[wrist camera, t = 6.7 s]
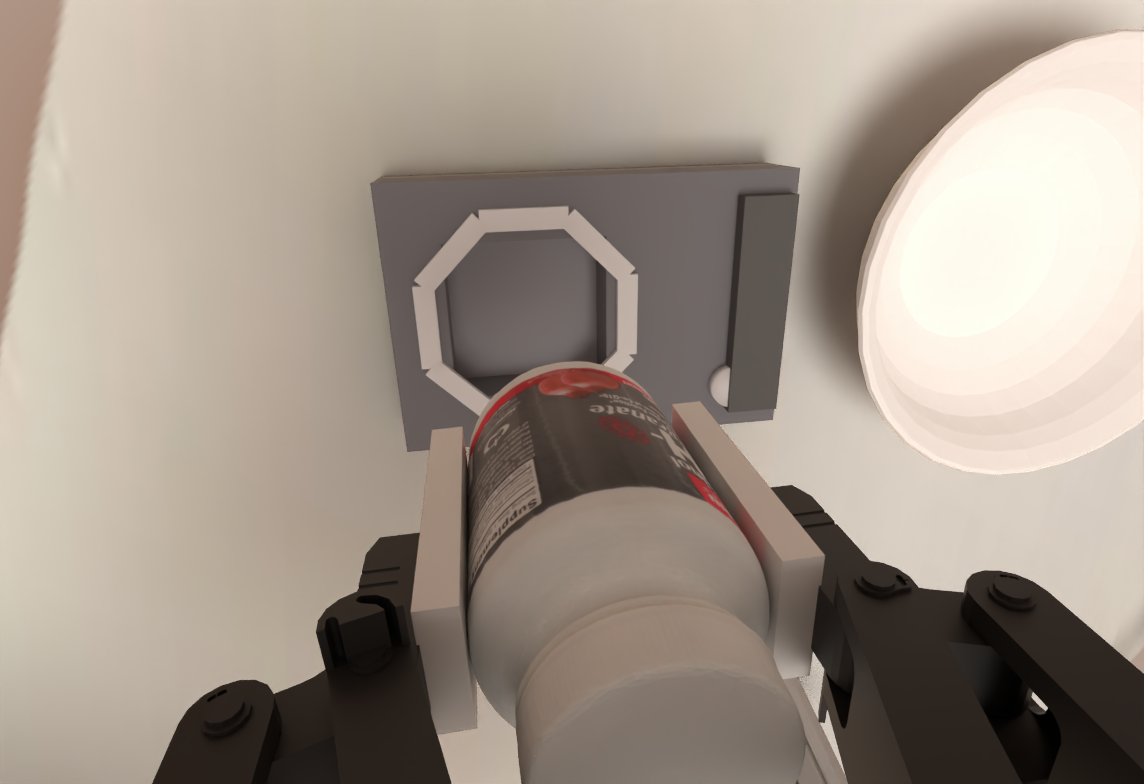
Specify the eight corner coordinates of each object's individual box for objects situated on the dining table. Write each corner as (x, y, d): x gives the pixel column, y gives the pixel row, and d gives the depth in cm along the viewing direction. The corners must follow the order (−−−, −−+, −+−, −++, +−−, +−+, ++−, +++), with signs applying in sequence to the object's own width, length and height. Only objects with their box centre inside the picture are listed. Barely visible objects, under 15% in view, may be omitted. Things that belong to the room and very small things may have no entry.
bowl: (1207, 70, 33) (1367, 59, 27) (1060, 426, 40) (1160, 478, 34) (847, 19, 29) (941, -5, 24) (759, 418, 37) (814, 474, 31)
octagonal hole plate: (413, 420, 34) (405, 459, 30) (381, 176, 29) (367, 186, 25) (745, 393, 36) (779, 426, 32) (766, 162, 31) (808, 169, 27)
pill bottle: (698, 397, 18) (934, 682, 9) (610, 552, 19) (735, 927, 10) (515, 322, 16) (575, 577, 7) (436, 498, 18) (405, 886, 9)
